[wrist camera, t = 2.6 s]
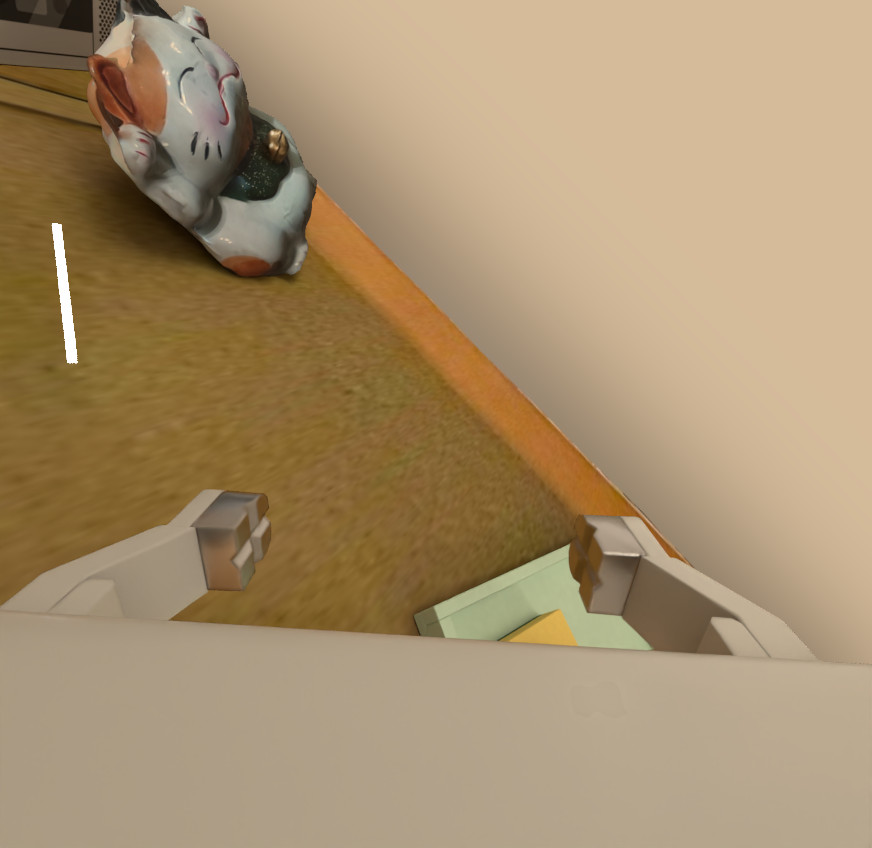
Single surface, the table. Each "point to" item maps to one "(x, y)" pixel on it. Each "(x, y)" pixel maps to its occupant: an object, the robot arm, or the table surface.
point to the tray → (527, 608)
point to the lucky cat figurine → (200, 139)
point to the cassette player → (54, 31)
